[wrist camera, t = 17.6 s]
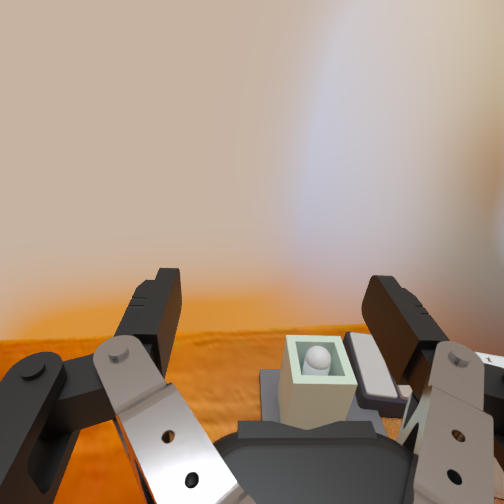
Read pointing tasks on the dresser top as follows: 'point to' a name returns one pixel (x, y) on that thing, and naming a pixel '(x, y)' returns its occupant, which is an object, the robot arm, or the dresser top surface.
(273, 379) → the post stand
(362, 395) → the dark gray paneled box
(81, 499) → the dresser top surface
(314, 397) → the sleeve
